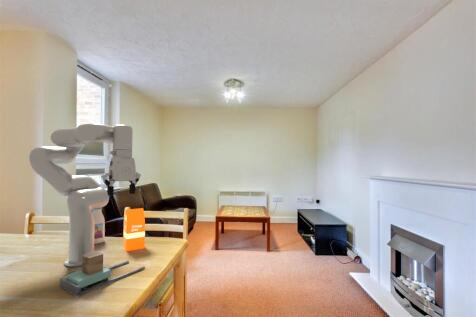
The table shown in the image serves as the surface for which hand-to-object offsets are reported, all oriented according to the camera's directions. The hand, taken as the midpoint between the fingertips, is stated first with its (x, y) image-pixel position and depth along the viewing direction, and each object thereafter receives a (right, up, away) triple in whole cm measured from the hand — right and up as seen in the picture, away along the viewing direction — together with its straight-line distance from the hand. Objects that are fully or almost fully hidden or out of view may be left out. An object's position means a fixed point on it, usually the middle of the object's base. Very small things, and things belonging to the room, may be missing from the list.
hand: (121, 194), depth 105 cm
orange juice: (-5, -31, +24) cm, 39 cm away
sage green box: (-5, -30, -15) cm, 34 cm away
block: (-4, -26, -14) cm, 30 cm away
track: (-1, -30, -10) cm, 32 cm away
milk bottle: (-29, -31, +32) cm, 53 cm away
